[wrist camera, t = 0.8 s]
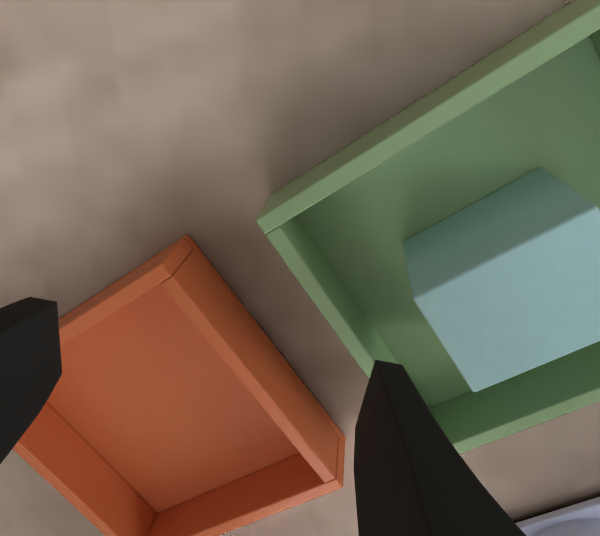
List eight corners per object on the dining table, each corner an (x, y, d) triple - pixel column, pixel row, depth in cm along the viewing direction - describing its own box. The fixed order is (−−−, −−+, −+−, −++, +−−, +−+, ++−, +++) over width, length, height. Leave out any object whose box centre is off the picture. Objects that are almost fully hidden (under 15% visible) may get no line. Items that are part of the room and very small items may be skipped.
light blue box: (585, 256, 18) (652, 320, 14) (450, 320, 20) (473, 394, 16) (540, 165, 17) (598, 205, 13) (401, 241, 19) (412, 298, 14)
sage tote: (713, 294, 19) (772, 336, 16) (422, 414, 22) (430, 465, 20) (587, -9, 15) (637, -21, 12) (269, 195, 19) (253, 220, 16)
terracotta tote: (345, 437, 24) (343, 487, 21) (160, 515, 27) (137, 566, 25) (188, 233, 20) (160, 262, 17) (1, 356, 24) (-46, 395, 21)
